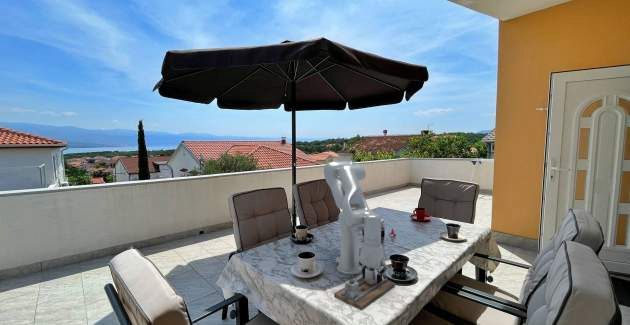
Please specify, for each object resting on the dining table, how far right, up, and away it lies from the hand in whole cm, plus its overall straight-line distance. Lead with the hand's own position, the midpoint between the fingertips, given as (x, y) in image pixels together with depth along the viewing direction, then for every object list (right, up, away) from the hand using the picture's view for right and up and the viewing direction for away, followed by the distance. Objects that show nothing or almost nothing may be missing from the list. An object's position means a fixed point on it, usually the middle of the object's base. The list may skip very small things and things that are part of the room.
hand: (371, 279), depth 126 cm
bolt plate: (-4, -4, -3) cm, 6 cm away
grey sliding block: (0, -2, 0) cm, 2 cm away
